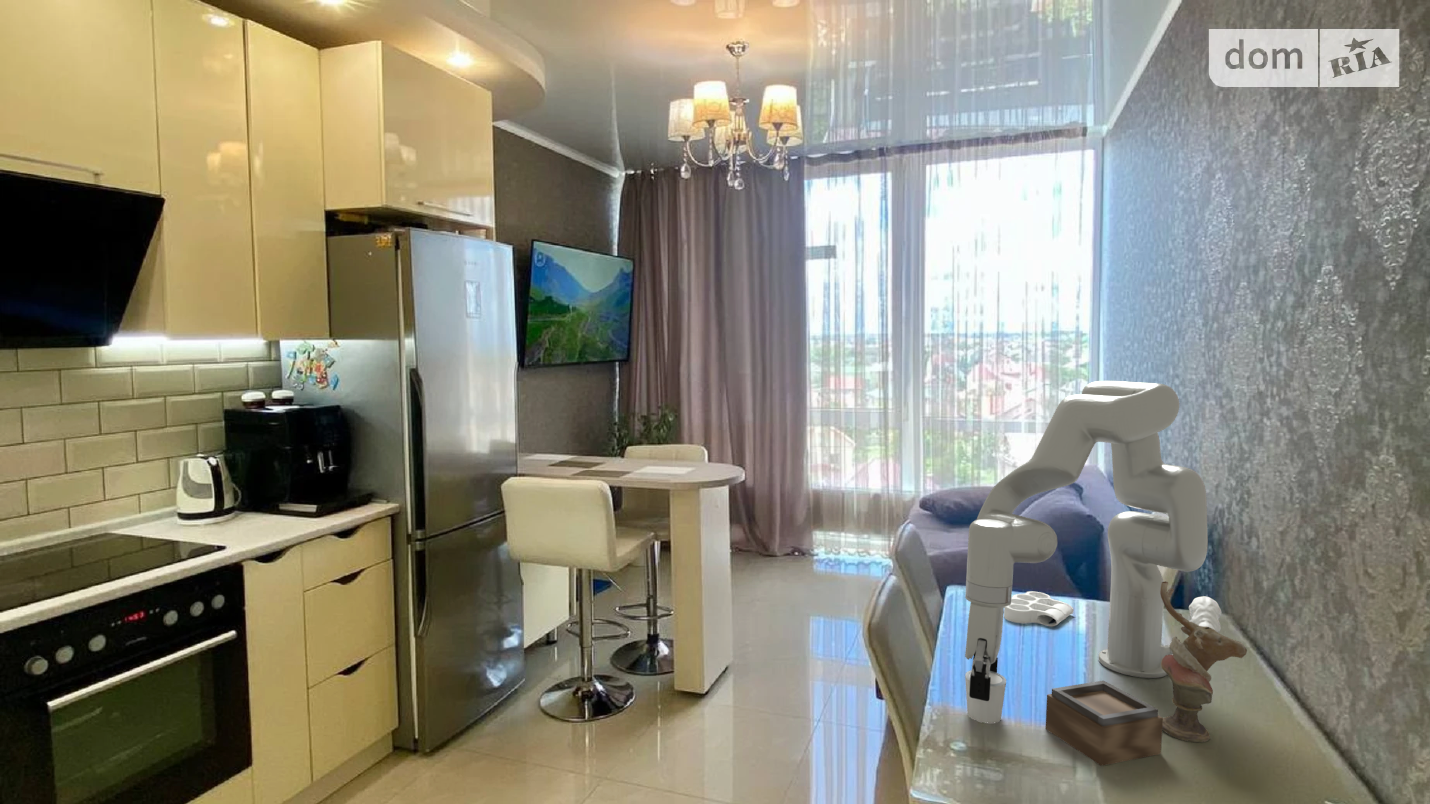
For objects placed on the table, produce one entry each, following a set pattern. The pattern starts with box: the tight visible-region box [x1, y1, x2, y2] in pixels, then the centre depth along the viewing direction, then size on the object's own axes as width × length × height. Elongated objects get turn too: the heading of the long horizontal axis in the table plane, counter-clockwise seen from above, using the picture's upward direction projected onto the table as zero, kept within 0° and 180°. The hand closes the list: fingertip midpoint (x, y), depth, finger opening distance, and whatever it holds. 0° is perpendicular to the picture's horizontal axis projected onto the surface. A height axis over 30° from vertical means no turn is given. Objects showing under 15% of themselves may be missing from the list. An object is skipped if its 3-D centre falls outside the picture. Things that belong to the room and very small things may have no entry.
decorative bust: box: [1160, 581, 1248, 743], centre depth 129 cm, size 11×13×25 cm
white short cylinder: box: [964, 669, 1007, 724], centre depth 134 cm, size 7×7×7 cm
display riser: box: [1045, 680, 1164, 767], centre depth 126 cm, size 12×12×7 cm
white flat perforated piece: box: [1003, 590, 1074, 627], centre depth 186 cm, size 3×18×15 cm
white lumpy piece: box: [1188, 595, 1222, 633], centre depth 171 cm, size 6×8×12 cm
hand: (983, 687), depth 134 cm, fingers open, 9 cm apart
